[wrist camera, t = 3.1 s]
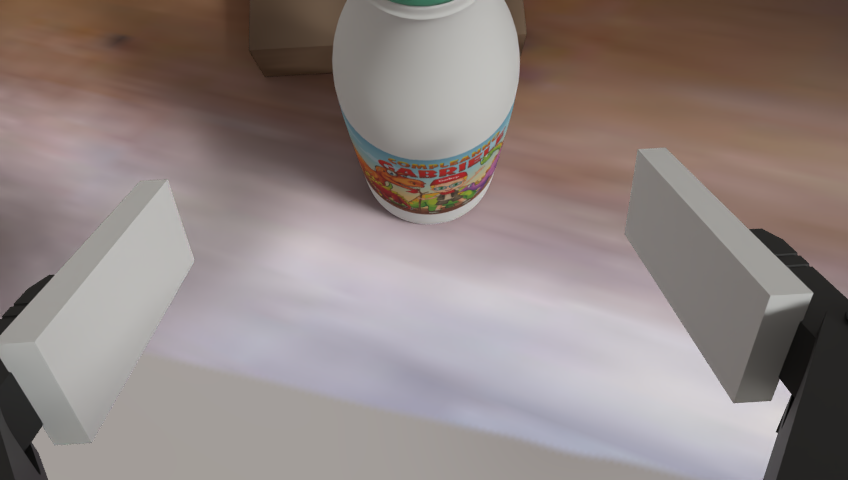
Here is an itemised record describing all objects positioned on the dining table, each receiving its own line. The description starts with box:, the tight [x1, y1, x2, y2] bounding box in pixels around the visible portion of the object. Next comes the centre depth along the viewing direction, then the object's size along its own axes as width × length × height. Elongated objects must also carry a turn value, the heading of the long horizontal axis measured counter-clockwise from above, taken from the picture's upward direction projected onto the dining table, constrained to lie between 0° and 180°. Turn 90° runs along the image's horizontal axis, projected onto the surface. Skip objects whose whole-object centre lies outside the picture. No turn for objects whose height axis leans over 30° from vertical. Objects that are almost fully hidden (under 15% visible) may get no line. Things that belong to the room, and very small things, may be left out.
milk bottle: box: [332, 0, 520, 224], centre depth 24 cm, size 8×8×20 cm
